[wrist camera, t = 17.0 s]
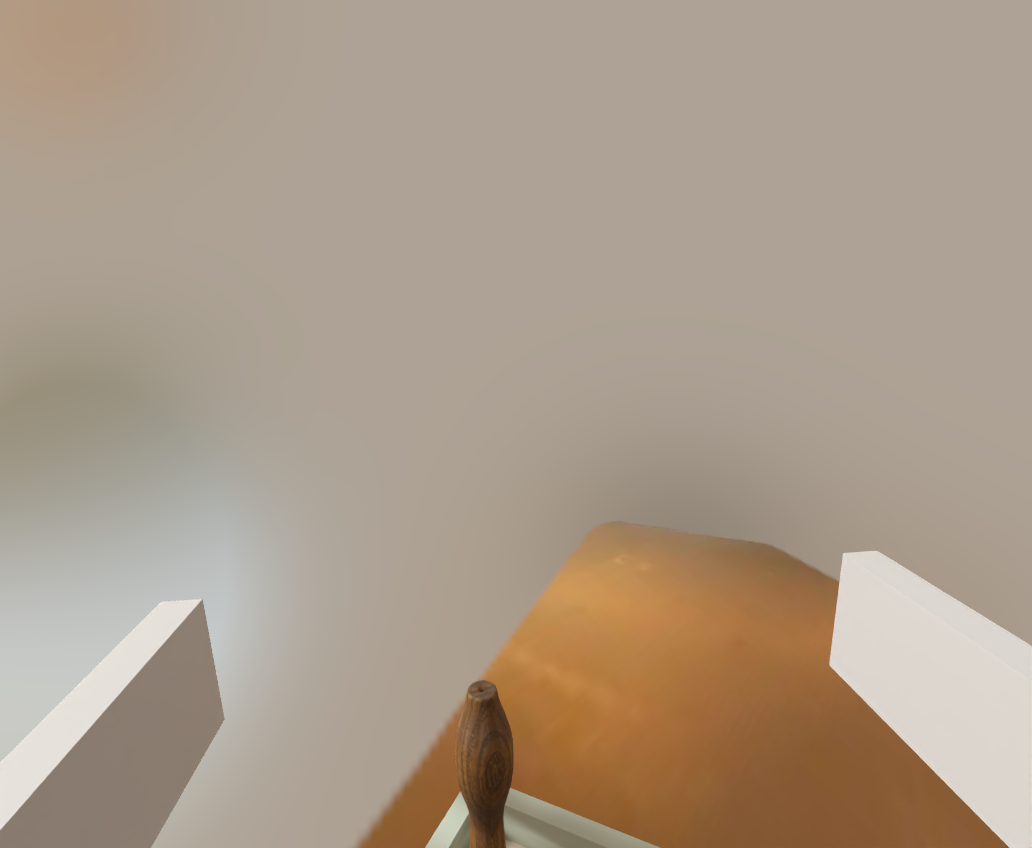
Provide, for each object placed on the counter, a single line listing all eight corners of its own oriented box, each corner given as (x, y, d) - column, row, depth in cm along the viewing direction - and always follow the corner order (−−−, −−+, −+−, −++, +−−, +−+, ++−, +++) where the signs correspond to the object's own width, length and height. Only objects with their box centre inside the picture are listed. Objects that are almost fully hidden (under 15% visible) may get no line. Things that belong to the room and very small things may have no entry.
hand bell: (369, 1015, 25) (341, 719, 21) (473, 859, 32) (464, 617, 28) (524, 1156, 21) (519, 816, 17) (605, 942, 28) (613, 668, 24)
